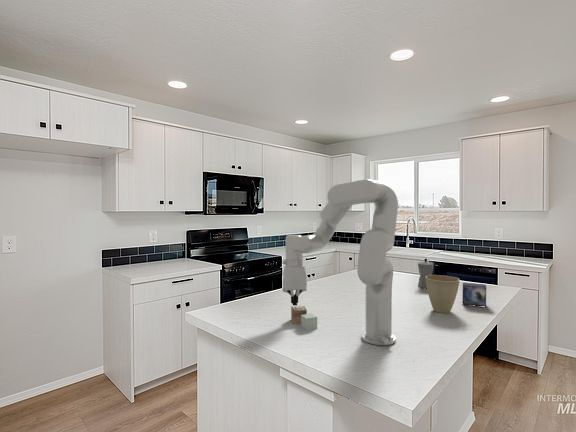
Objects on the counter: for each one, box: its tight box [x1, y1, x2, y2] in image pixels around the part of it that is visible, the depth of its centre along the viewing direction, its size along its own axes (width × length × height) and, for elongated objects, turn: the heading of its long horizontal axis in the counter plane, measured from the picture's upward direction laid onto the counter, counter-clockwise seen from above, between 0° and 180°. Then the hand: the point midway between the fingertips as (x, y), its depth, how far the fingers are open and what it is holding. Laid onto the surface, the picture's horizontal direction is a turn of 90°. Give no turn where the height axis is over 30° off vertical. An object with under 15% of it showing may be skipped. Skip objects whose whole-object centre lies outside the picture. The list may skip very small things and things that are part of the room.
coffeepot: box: [417, 258, 437, 289], centre depth 209 cm, size 15×9×18 cm, turn 118°
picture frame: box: [462, 282, 487, 308], centre depth 169 cm, size 11×6×10 cm, turn 62°
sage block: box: [300, 313, 318, 331], centre depth 139 cm, size 5×5×5 cm
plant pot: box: [426, 274, 460, 314], centre depth 160 cm, size 15×15×16 cm
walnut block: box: [290, 305, 308, 325], centre depth 146 cm, size 6×6×6 cm
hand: (294, 304), depth 146 cm, fingers closed
